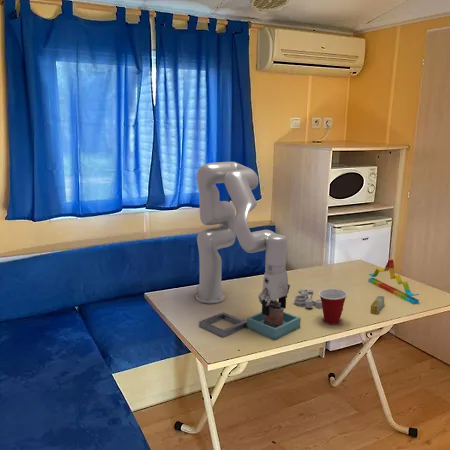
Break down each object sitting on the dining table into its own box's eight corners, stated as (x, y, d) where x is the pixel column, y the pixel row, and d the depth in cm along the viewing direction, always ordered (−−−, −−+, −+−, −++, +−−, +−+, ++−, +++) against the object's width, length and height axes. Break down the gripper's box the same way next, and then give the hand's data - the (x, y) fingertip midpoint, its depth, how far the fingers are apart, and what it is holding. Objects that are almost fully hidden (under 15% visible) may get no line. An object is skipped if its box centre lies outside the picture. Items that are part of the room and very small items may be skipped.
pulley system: (313, 320, 192) (344, 312, 197) (312, 308, 191) (344, 301, 196) (279, 298, 217) (308, 292, 222) (279, 288, 216) (308, 282, 221)
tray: (246, 327, 182) (246, 318, 181) (271, 316, 192) (272, 307, 191) (275, 340, 172) (275, 329, 171) (300, 327, 182) (300, 317, 181)
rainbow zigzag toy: (419, 304, 207) (422, 271, 204) (413, 305, 206) (416, 271, 203) (373, 281, 235) (376, 252, 231) (368, 282, 234) (370, 252, 230)
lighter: (284, 326, 181) (285, 301, 179) (280, 329, 178) (281, 304, 176) (266, 320, 186) (267, 296, 183) (261, 323, 183) (262, 299, 181)
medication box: (377, 304, 206) (378, 295, 205) (384, 305, 205) (384, 296, 204) (370, 313, 196) (370, 304, 195) (377, 315, 195) (377, 305, 194)
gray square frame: (199, 326, 183) (199, 321, 182) (223, 316, 192) (223, 311, 191) (223, 337, 174) (223, 332, 173) (247, 326, 183) (247, 321, 182)
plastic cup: (315, 315, 194) (316, 287, 191) (342, 315, 193) (343, 287, 191) (319, 326, 183) (321, 297, 180) (347, 327, 183) (350, 298, 180)
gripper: (268, 275, 168) (266, 320, 172) (297, 265, 180) (295, 307, 184) (252, 270, 173) (251, 314, 177) (282, 260, 185) (280, 302, 189)
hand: (273, 310), depth 181 cm, fingers open, 9 cm apart
